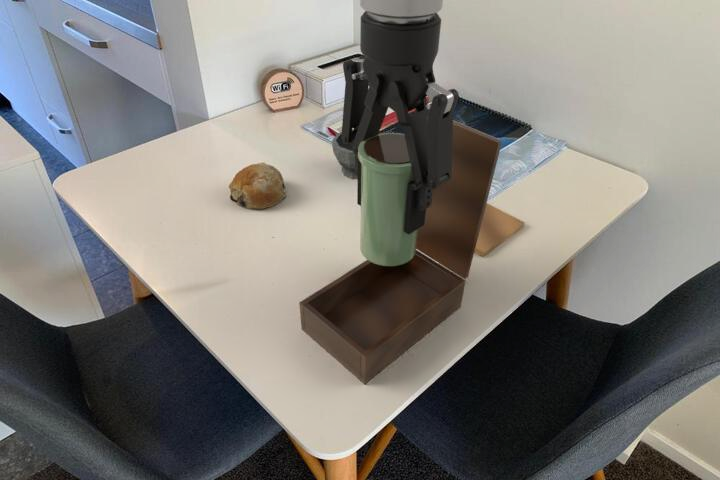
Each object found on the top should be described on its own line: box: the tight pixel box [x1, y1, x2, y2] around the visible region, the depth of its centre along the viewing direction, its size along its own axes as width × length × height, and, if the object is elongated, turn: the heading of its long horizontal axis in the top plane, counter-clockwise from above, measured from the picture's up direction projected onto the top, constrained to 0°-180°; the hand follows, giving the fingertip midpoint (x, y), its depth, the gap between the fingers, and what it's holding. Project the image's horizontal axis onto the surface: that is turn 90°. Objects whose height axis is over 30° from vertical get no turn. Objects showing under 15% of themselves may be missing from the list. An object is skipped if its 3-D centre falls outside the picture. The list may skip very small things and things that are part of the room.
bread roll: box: [228, 162, 288, 210], centre depth 96 cm, size 10×10×8 cm
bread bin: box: [299, 249, 467, 385], centre depth 73 cm, size 20×13×5 cm, turn 134°
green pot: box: [358, 132, 418, 266], centre depth 61 cm, size 8×8×14 cm
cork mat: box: [474, 203, 525, 258], centre depth 91 cm, size 12×12×1 cm
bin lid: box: [416, 116, 503, 280], centre depth 71 cm, size 20×13×5 cm
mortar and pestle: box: [331, 114, 387, 180], centre depth 102 cm, size 11×9×12 cm
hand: (389, 213), depth 62 cm, fingers closed on green pot, 7 cm apart
